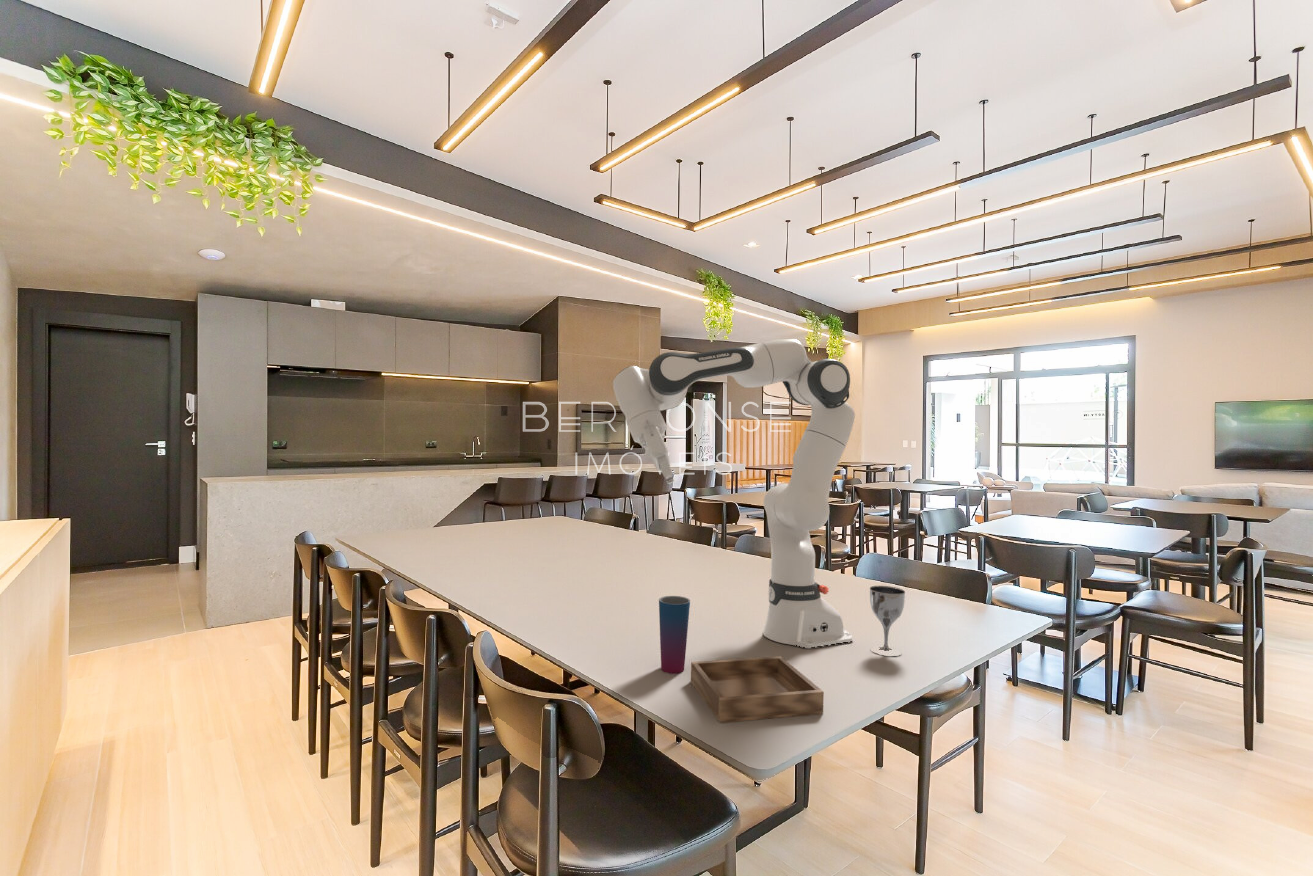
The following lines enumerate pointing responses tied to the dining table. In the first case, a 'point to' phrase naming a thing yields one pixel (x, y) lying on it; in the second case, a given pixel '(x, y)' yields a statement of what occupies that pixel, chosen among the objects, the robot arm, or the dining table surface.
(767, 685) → the tray
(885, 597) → the wine glass
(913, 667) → the dining table surface
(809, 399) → the robot arm
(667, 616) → the cup
